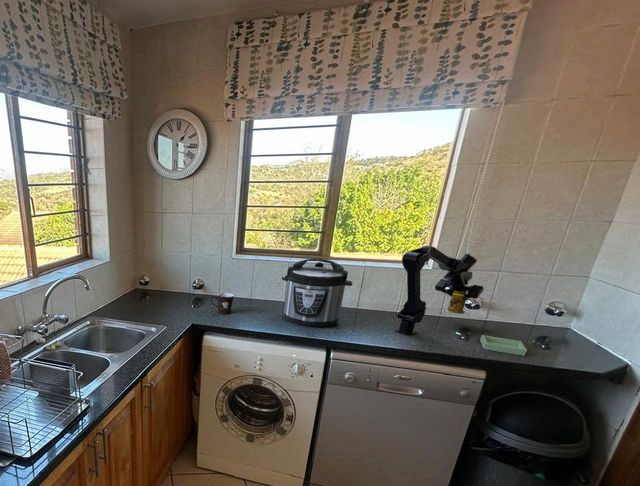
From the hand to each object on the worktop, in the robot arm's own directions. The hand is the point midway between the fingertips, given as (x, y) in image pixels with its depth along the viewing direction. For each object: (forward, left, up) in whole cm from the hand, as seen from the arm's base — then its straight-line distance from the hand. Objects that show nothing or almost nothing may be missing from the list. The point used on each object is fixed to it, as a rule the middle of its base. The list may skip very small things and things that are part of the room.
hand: (461, 298), depth 201 cm
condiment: (-1, 0, -7) cm, 7 cm away
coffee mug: (-88, +77, -13) cm, 118 cm away
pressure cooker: (-59, +42, -13) cm, 74 cm away
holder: (-20, -26, -13) cm, 35 cm away
